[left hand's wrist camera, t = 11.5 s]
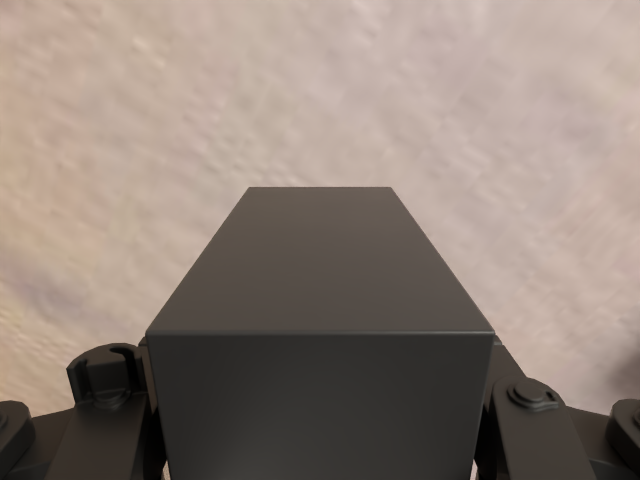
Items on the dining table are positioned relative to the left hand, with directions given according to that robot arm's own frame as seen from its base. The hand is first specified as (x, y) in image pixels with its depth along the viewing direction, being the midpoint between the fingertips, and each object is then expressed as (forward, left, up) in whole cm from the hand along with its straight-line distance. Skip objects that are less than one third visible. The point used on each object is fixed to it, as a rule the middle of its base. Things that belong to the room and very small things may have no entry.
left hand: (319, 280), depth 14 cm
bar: (+8, -5, -1) cm, 10 cm away
